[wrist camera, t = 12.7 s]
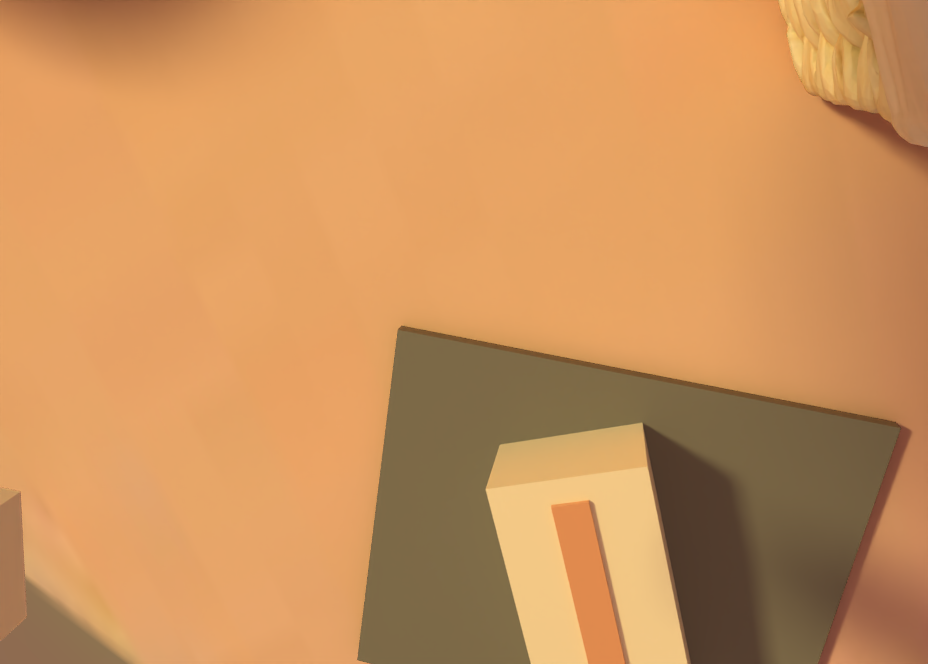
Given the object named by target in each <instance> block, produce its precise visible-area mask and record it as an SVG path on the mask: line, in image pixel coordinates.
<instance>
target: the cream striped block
mask: <svg viewBox="0 0 928 664" xmlns="http://www.w3.org/2000/svg"><path fill="white" fill-rule="evenodd" d="M486 493H487V497H488V501H489V504H490V508H491V512H492V516H493V520H494V524H495V528H496V531H497V535H498V539H499V543H500V547H501V551H502V555H503V558H504V562H505V566H506V570H507V574H508V578H509V582H510V585H511V589H512V593H513V597H514V601H515V605H516V609H517V612H518V616H519V620H520V624H521V628H522V632H523V636H524V639H525V643H526V647H527V651H528V655H529V659H530V662H531V664H691V662H690V657H689V652H688V647H687V642H686V637H685V632H684V627H683V622H682V617H681V612H680V607H679V602H678V597H677V592H676V587H675V582H674V577H673V572H672V567H671V562H670V557H669V552H668V547H667V542H666V537H665V533H664V528H663V523H662V518H661V513H660V508H659V503H658V498H657V493H656V488H655V483H654V478H653V473H652V468H651V463H650V458H649V453H648V448H647V443H646V438H645V433H644V428H643V423H637V424H631V425H624V426H618V427H611V428H605V429H598V430H592V431H585V432H579V433H572V434H566V435H559V436H553V437H546V438H540V439H533V440H527V441H520V442H514V443H508V444H501V445H500V446H499V449H498V452H497V455H496V458H495V461H494V464H493V468H492V471H491V474H490V477H489V480H488V483H487V486H486Z"/></svg>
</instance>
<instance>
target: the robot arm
mask: <svg viewBox="0 0 928 664" xmlns="http://www.w3.org/2000/svg"><path fill="white" fill-rule="evenodd" d="M26 617H27V610H26V591H25V570H24V550H23V530H22V511H21V491H16V490H12V489H8V488H4V487H0V641H1V640H3V639H4V638H5V637H6V636H7V635H8V634H9V633H10V632H11V631H12V630H13V629H14V628H15V627H16V626H18V625H19V624H20V623H21V622H22V621H23V620H24V619H25V618H26Z"/></svg>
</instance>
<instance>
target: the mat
mask: <svg viewBox="0 0 928 664" xmlns="http://www.w3.org/2000/svg"><path fill="white" fill-rule="evenodd" d="M637 423H643V428H644V433H645V438H646V443H647V448H648V453H649V458H650V463H651V468H652V473H653V478H654V483H655V488H656V493H657V498H658V503H659V508H660V513H661V518H662V523H663V528H664V533H665V537H666V542H667V547H668V552H669V557H670V562H671V567H672V572H673V577H674V582H675V587H676V592H677V597H678V602H679V607H680V612H681V617H682V622H683V627H684V632H685V637H686V642H687V647H688V652H689V657H690V662H691V664H818V662H819V659H820V657H821V654H822V651H823V648H824V645H825V642H826V640H827V637H828V634H829V631H830V628H831V625H832V622H833V620H834V617H835V614H836V611H837V608H838V605H839V603H840V600H841V597H842V594H843V591H844V588H845V586H846V583H847V580H848V577H849V574H850V571H851V569H852V566H853V563H854V560H855V557H856V554H857V552H858V549H859V546H860V543H861V540H862V537H863V535H864V532H865V529H866V526H867V523H868V520H869V518H870V515H871V512H872V509H873V506H874V503H875V501H876V498H877V495H878V492H879V489H880V486H881V483H882V481H883V478H884V475H885V472H886V469H887V466H888V464H889V461H890V458H891V455H892V452H893V449H894V447H895V444H896V441H897V438H898V435H899V432H900V430H901V428H900V427H899V425H898V424H897V423H896V422H892V421H887V420H882V419H877V418H872V417H867V416H862V415H857V414H851V413H846V412H841V411H836V410H831V409H826V408H821V407H815V406H810V405H805V404H800V403H795V402H790V401H785V400H780V399H774V398H769V397H764V396H759V395H754V394H749V393H744V392H738V391H733V390H728V389H723V388H718V387H713V386H708V385H703V384H697V383H692V382H687V381H682V380H677V379H672V378H667V377H661V376H656V375H651V374H646V373H641V372H636V371H631V370H625V369H620V368H615V367H610V366H605V365H600V364H595V363H590V362H584V361H579V360H574V359H569V358H564V357H559V356H554V355H548V354H543V353H538V352H533V351H528V350H523V349H518V348H513V347H507V346H502V345H497V344H492V343H487V342H482V341H477V340H471V339H466V338H461V337H456V336H451V335H446V334H441V333H436V332H430V331H425V330H420V329H415V328H410V327H405V326H401V327H400V328H399V329H398V333H397V341H396V349H395V357H394V365H393V373H392V381H391V390H390V398H389V406H388V414H387V422H386V430H385V439H384V447H383V455H382V463H381V471H380V479H379V487H378V496H377V504H376V512H375V520H374V528H373V536H372V544H371V553H370V561H369V569H368V577H367V585H366V593H365V602H364V610H363V618H362V626H361V634H360V642H359V650H358V659H357V660H359V661H363V662H367V663H370V664H531V662H530V659H529V655H528V651H527V647H526V643H525V639H524V636H523V632H522V628H521V624H520V620H519V616H518V612H517V609H516V605H515V601H514V597H513V593H512V589H511V585H510V582H509V578H508V574H507V570H506V566H505V562H504V558H503V555H502V551H501V547H500V543H499V539H498V535H497V531H496V528H495V524H494V520H493V516H492V512H491V508H490V504H489V501H488V497H487V493H486V486H487V483H488V480H489V477H490V474H491V471H492V468H493V464H494V461H495V458H496V455H497V452H498V449H499V446H500V445H501V444H508V443H514V442H520V441H527V440H533V439H540V438H546V437H553V436H559V435H566V434H572V433H579V432H585V431H592V430H598V429H605V428H611V427H618V426H624V425H631V424H637Z"/></svg>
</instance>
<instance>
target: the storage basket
mask: <svg viewBox="0 0 928 664" xmlns="http://www.w3.org/2000/svg"><path fill="white" fill-rule="evenodd" d="M778 3H779V7H780V11H781V14H782V16H783V18H784V20H785V21H786V23H787V25H788V30H787V39H788V43H789V47H790V52H791V56H792V60H793V64H794V67H795V70H796V72H797V74H798V76H799V78H800V80H801V82H802V83H803V85H804V88H805V89H806V91H807V92H808V93H809V94H811V95H813V96H820V97H821V98H822V99H823V100H826V101H831V102H832V103H833V104H834V105H849V106H850V107H852V108H853V109H854V110H861V111H868V112H870V113H873V114H874V113H879V114H880V115H881V116H882V118H883V119H885V120H887V121H888V122H890V123H892V126H893V127H894V129H895V130H896V132H897V133H898V135H899V136H900V137H902V138H903V139H904V140H906V141H907V142H909V143H911V144H914V145H922V146H924V147H928V0H778Z"/></svg>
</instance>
